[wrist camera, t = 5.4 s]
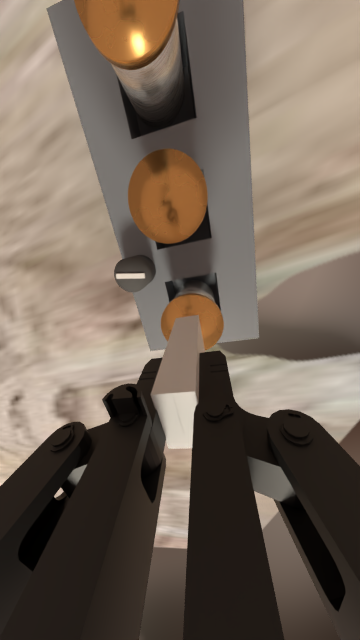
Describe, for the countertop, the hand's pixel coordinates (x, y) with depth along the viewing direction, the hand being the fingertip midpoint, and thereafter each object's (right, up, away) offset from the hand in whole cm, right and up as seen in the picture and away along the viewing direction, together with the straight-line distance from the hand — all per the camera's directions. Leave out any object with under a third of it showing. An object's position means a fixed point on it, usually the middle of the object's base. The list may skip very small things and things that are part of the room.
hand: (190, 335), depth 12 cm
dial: (-4, +6, +6) cm, 9 cm away
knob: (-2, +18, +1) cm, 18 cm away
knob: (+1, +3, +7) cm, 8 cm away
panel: (0, +12, +9) cm, 15 cm away
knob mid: (-1, +11, +4) cm, 11 cm away
